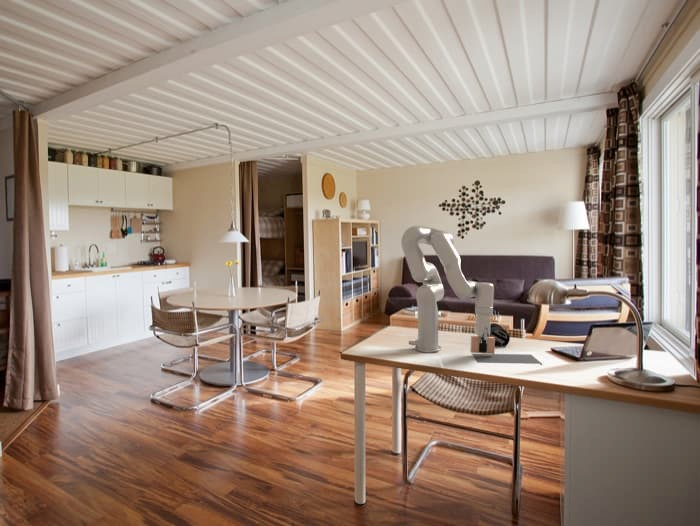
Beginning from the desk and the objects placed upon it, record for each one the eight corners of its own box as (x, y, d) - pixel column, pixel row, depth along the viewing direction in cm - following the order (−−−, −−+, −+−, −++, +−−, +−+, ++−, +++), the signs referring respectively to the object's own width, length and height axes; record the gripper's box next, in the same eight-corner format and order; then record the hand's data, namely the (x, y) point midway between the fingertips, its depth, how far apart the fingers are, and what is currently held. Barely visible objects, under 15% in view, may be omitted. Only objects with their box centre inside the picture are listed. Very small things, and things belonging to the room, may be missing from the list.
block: (471, 352, 182) (471, 337, 182) (470, 351, 184) (470, 335, 184) (494, 353, 181) (495, 338, 181) (493, 352, 183) (493, 337, 183)
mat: (477, 363, 173) (477, 362, 173) (471, 354, 187) (471, 353, 187) (542, 364, 170) (542, 363, 170) (531, 355, 184) (531, 354, 184)
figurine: (514, 335, 197) (504, 326, 217) (496, 325, 198) (489, 318, 218) (504, 351, 198) (496, 341, 218) (487, 342, 199) (480, 333, 219)
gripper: (472, 306, 190) (470, 345, 191) (478, 313, 174) (477, 355, 175) (488, 307, 189) (487, 346, 190) (497, 314, 173) (495, 356, 174)
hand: (482, 350), depth 183 cm, fingers closed on block, 2 cm apart
